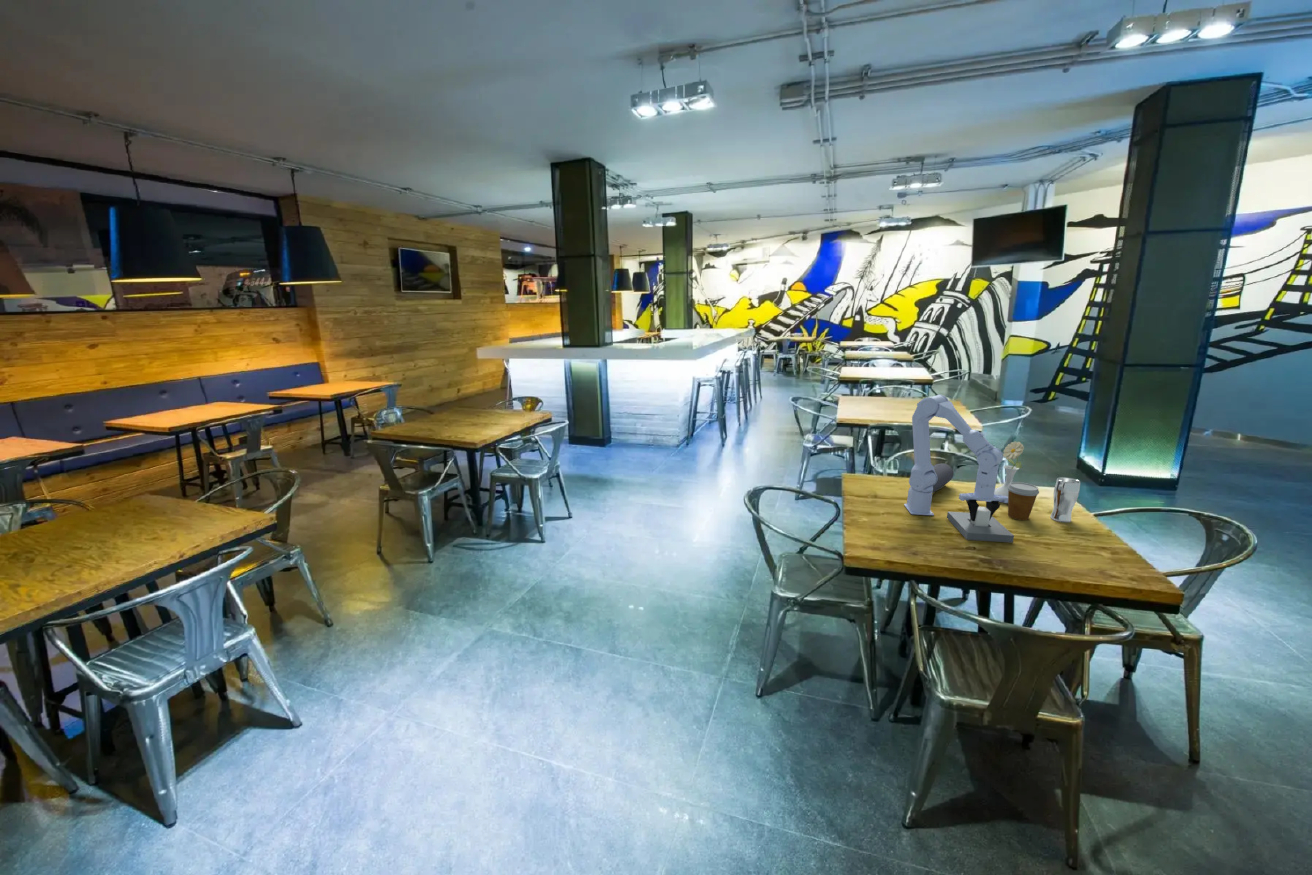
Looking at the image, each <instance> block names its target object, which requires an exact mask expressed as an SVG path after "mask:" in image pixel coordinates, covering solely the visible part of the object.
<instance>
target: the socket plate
mask: <svg viewBox="0 0 1312 875" xmlns="http://www.w3.org/2000/svg"><path fill="white" fill-rule="evenodd" d="M946 513H947V514H946V519H947V518H948V519H947V520H948V521H949V522H950V523H951V524H952V525H953V526H954V528H955V529H956V528H957V529H956V530H959V531H958V532H959V533H960V534H961V535H962V536H963V537H964V539H965V540H967V541H983V542H999V543H1010V544H1011V543H1014V539H1015V535H1014V534H1013V533H1012V532H1011V531H1010V530H1008V529H1007V528H1006V527H1005V526H1004V525H1003V524H1002V523H1000V522H999V520H997V519H996V518H995V517H994V516H993V515H992V517H991V519H990V521H989V525H988V527H986V526H974V525H973V524H972V523H971V519H970V512H963V511H961V512H960V511H947V512H946Z"/></svg>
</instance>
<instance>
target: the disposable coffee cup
mask: <svg viewBox="0 0 1312 875" xmlns="http://www.w3.org/2000/svg"><path fill="white" fill-rule="evenodd" d="M1007 488H1008V490H1009V491H1008V503H1007V515H1008V517H1009V518H1011V519H1014V520H1017V519H1018V520H1019V521H1026V520H1027V521H1029V519H1030V516H1031V513H1032V510H1033V507H1034V504H1035V502H1036V499H1037V496H1038V495H1039V494H1040V491H1039V488H1038V486H1036V485H1034V484H1031V483H1027V482H1022V481H1012V483H1010V484H1009V486H1008V487H1007Z"/></svg>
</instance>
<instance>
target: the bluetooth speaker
mask: <svg viewBox="0 0 1312 875" xmlns="http://www.w3.org/2000/svg"><path fill="white" fill-rule="evenodd" d="M933 466H934V470H935V473H936V475H937V478H938V480H937V482H936V484H935V485H933V494H934V492H935V493H936V492H937V491H939V490H941V489H943V488H944V487H945V486H946V485H948V483H949V482H950V481H952V479H953V477H954V470H953V468H952V467H951V465H949V464H947V463H943V462H942V463H936V464H934V465H933Z"/></svg>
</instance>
